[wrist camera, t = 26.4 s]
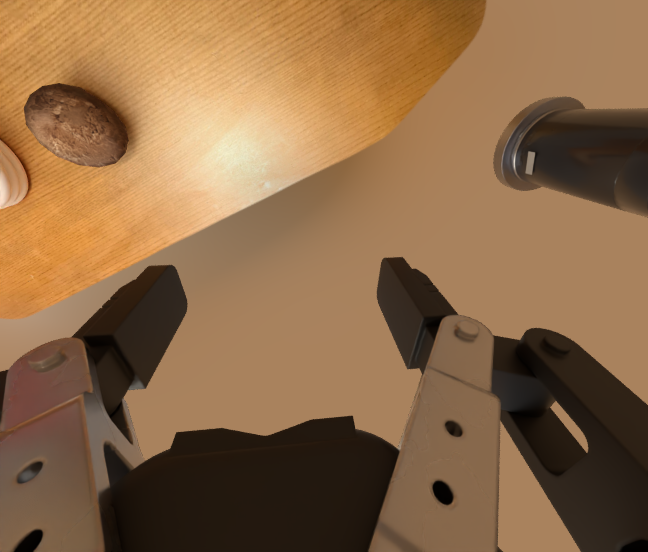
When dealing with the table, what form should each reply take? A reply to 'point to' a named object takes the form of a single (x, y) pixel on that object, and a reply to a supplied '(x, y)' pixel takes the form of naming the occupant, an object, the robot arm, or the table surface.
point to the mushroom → (76, 125)
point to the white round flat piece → (11, 178)
